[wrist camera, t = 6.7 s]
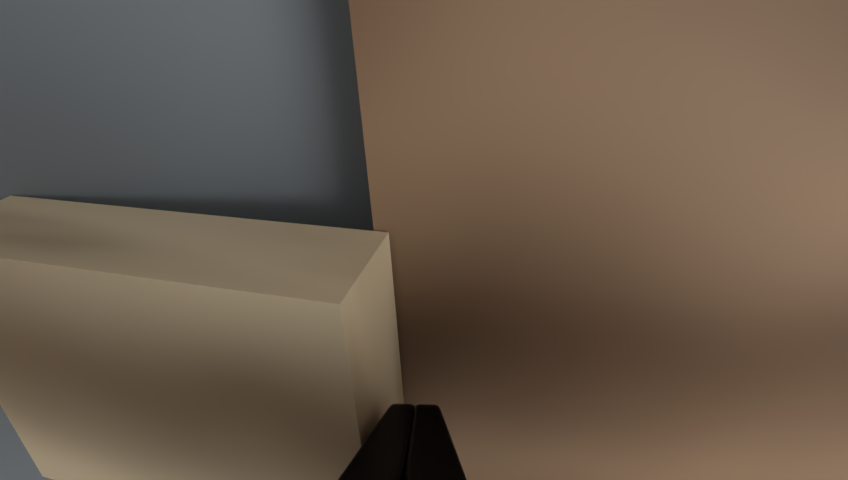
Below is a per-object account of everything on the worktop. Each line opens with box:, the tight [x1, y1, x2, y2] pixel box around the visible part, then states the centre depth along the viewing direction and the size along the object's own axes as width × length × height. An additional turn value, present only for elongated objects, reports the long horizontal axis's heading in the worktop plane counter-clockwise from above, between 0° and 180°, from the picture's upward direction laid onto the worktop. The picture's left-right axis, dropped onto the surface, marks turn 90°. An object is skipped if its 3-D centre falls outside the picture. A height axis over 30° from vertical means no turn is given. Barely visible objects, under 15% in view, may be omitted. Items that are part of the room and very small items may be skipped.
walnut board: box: [348, 0, 848, 480], centre depth 11 cm, size 18×12×2 cm, turn 3°
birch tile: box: [0, 195, 404, 480], centre depth 11 cm, size 6×8×2 cm
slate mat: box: [0, 0, 374, 480], centre depth 13 cm, size 20×16×1 cm
